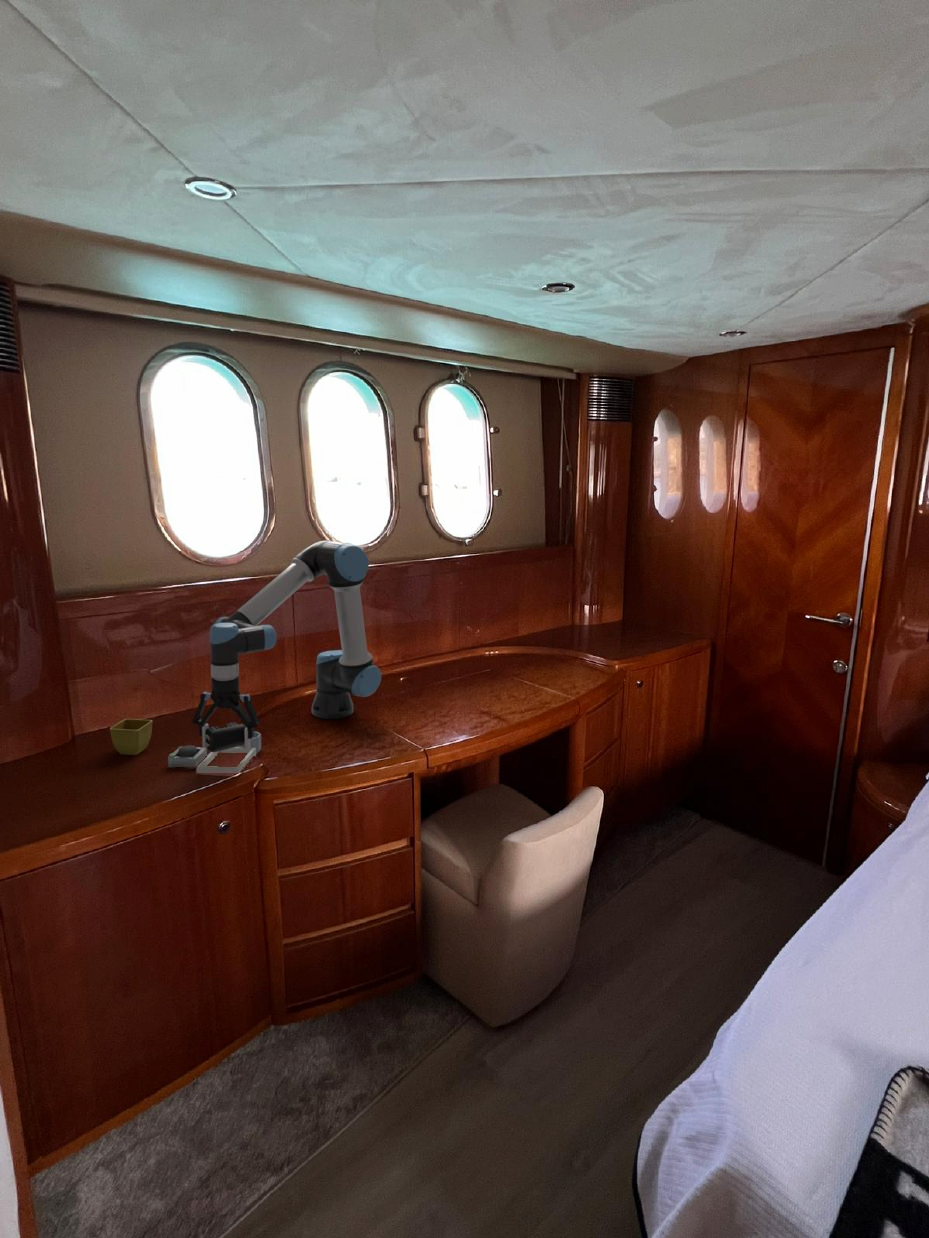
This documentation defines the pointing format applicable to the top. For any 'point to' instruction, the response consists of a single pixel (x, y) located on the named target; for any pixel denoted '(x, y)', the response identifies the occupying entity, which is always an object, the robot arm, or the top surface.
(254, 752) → the light grey rectangular frame
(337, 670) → the robot arm
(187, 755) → the test button
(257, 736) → the blue-grey short hollow cylinder
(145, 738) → the flower pot
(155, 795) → the top surface
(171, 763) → the box
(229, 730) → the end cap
